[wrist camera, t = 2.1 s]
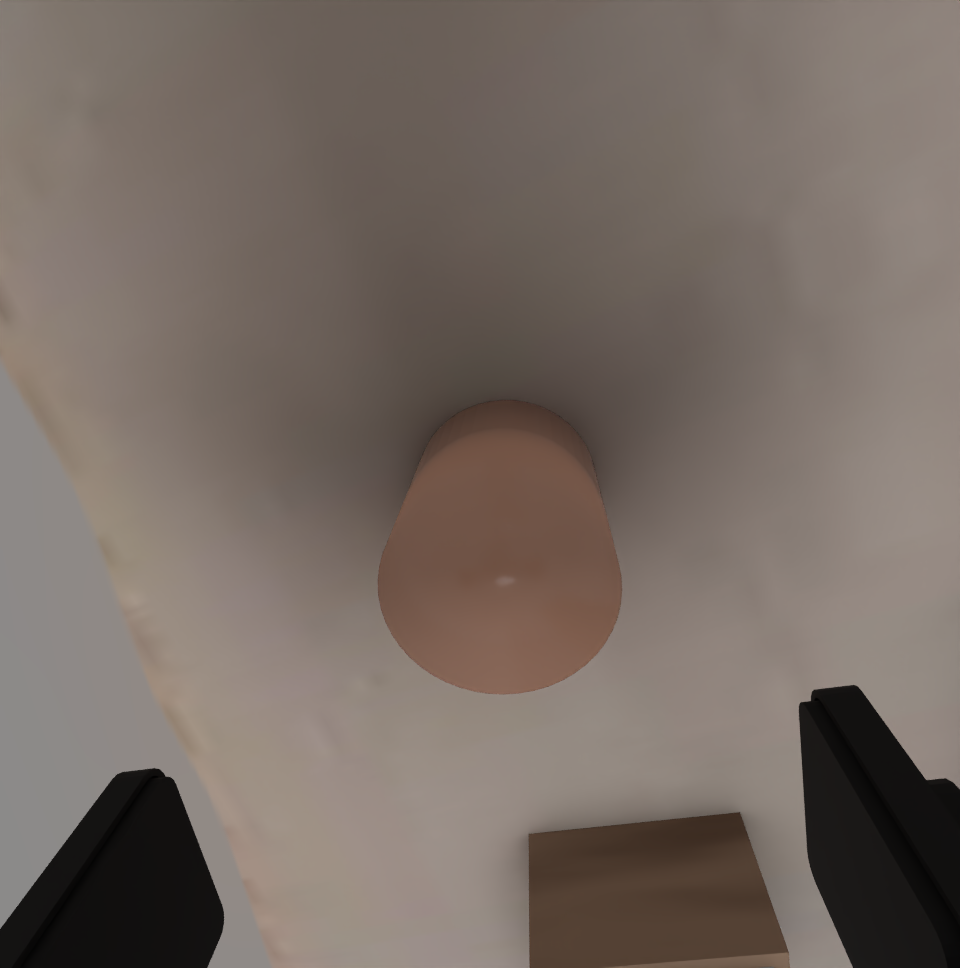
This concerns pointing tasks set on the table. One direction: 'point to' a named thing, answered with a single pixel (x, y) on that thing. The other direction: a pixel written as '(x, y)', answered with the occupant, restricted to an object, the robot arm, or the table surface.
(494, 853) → the table surface
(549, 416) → the terracotta cylinder
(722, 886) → the tower base
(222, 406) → the table surface
